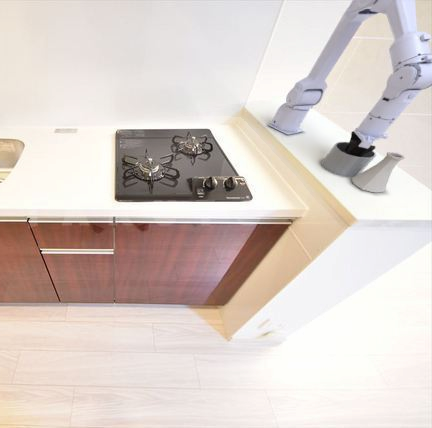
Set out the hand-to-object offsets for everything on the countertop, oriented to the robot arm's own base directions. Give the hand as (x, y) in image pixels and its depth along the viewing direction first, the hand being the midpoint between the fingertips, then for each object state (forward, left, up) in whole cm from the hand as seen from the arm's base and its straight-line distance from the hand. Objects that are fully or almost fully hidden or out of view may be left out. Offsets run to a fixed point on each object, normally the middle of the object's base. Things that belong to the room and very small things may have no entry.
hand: (346, 160), depth 71 cm
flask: (+9, -2, -3) cm, 10 cm away
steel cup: (0, 0, -3) cm, 3 cm away
